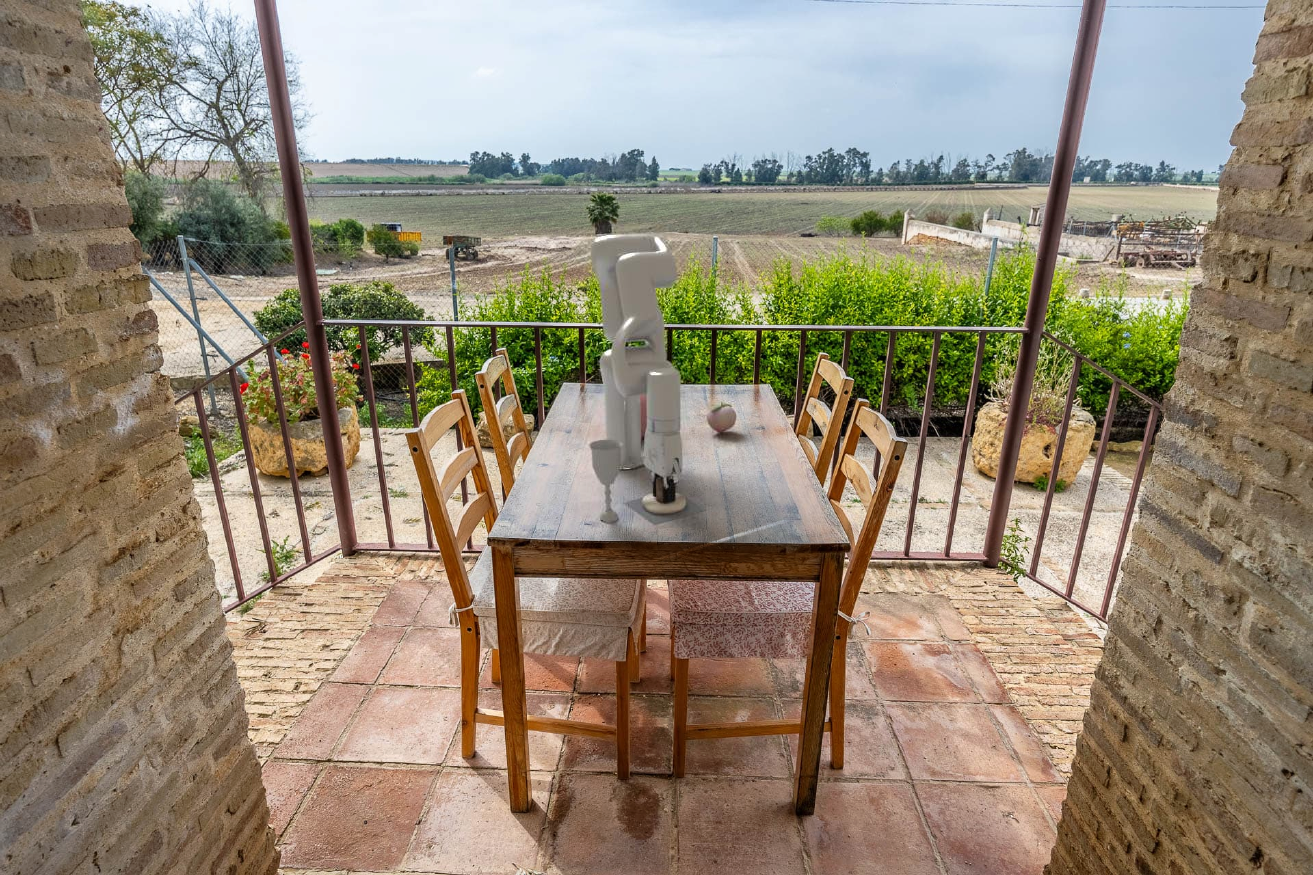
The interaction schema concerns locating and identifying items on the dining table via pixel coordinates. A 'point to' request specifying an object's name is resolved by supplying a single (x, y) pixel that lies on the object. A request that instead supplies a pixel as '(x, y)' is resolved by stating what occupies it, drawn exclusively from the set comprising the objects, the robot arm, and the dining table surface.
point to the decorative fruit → (721, 417)
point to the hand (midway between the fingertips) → (664, 498)
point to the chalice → (606, 470)
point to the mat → (660, 518)
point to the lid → (657, 503)
